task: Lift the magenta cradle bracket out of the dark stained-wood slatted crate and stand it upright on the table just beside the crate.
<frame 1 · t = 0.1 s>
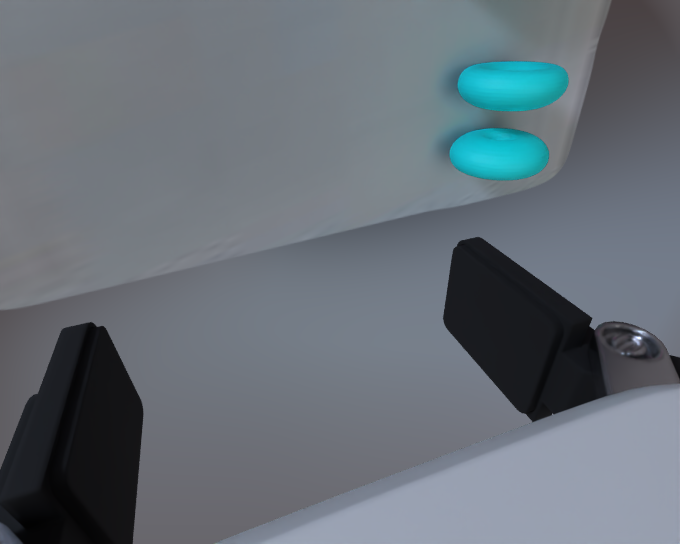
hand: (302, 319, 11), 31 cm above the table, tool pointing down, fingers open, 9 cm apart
donuts: (473, 110, 44), on the table
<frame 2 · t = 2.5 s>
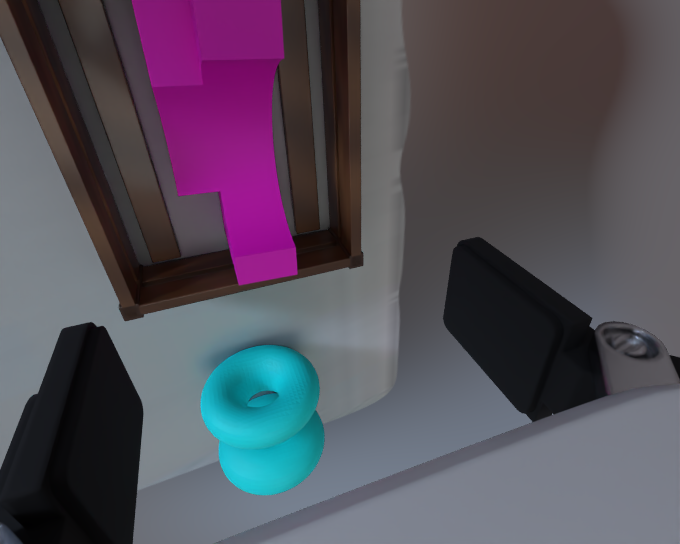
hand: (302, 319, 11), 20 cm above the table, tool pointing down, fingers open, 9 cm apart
crate: (217, 130, 26), on the table
magenta cradle bracket: (217, 130, 26), resting in crate
donuts: (256, 375, 40), on the table
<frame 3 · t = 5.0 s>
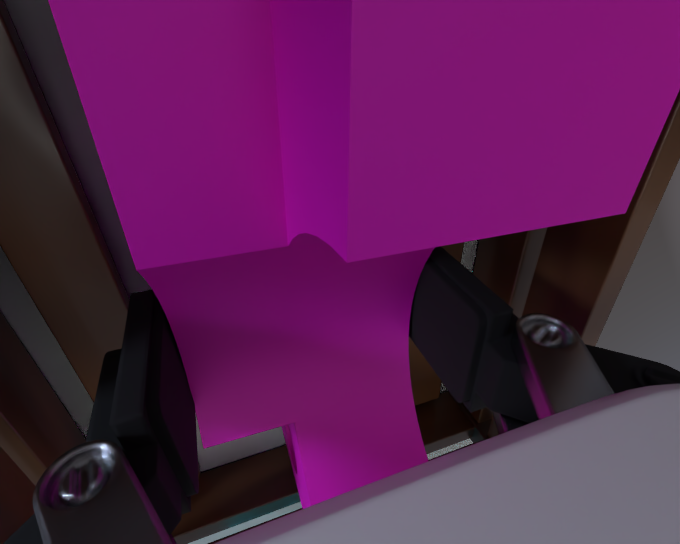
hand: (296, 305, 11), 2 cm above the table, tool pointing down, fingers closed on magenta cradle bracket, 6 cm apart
crate: (282, 271, 13), on the table
magenta cradle bracket: (281, 268, 13), resting in crate, touching gripper
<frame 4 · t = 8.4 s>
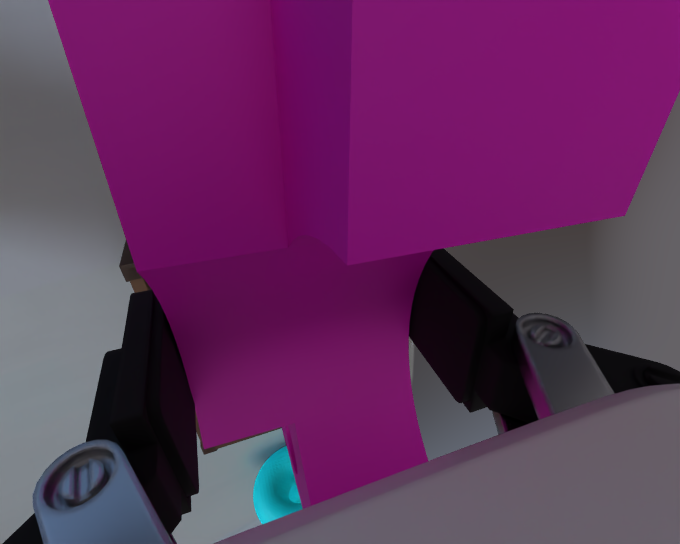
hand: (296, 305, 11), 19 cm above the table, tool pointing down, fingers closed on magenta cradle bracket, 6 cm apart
crate: (270, 310, 35), on the table
magenta cradle bracket: (281, 269, 13), point 17 cm above the table, touching gripper
donuts: (293, 461, 48), on the table
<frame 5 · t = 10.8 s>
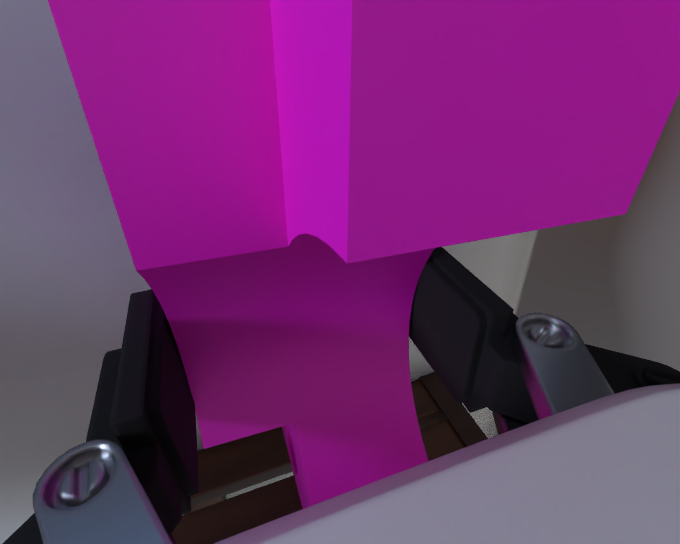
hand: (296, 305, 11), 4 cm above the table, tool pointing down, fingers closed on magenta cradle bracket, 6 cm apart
crate: (309, 511, 26), on the table
magenta cradle bracket: (281, 268, 13), point 2 cm above the table, touching gripper
when the fingers open (2 cm above the table, at t = 12.1 s): magenta cradle bracket stays where it is, on the table.
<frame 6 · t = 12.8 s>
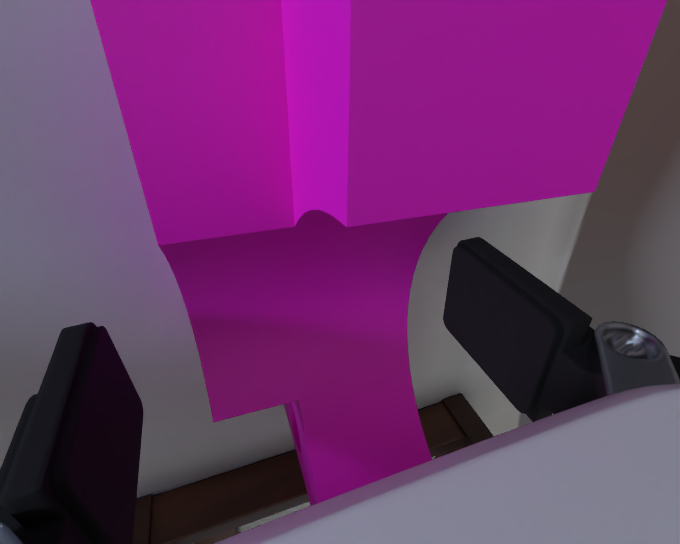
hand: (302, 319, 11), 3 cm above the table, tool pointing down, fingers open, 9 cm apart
crate: (322, 535, 25), on the table
magenta cradle bracket: (286, 256, 13), on the table
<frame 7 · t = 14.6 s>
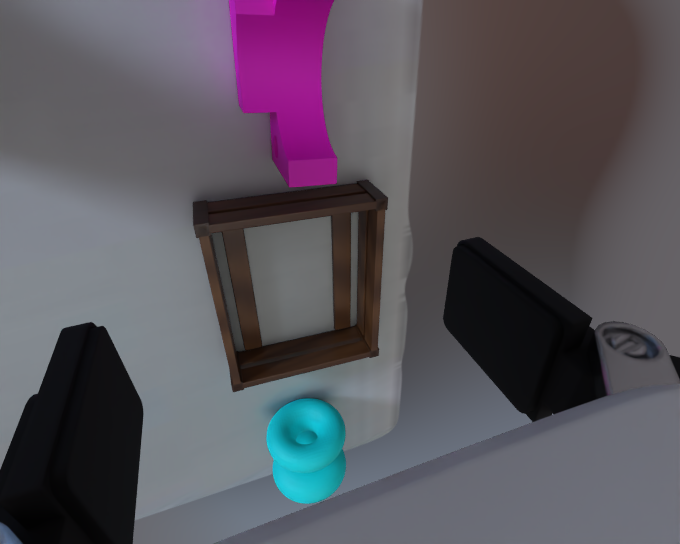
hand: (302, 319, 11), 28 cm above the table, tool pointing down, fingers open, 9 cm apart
crate: (293, 276, 43), on the table
magenta cradle bracket: (274, 66, 32), on the table
donuts: (299, 417, 56), on the table
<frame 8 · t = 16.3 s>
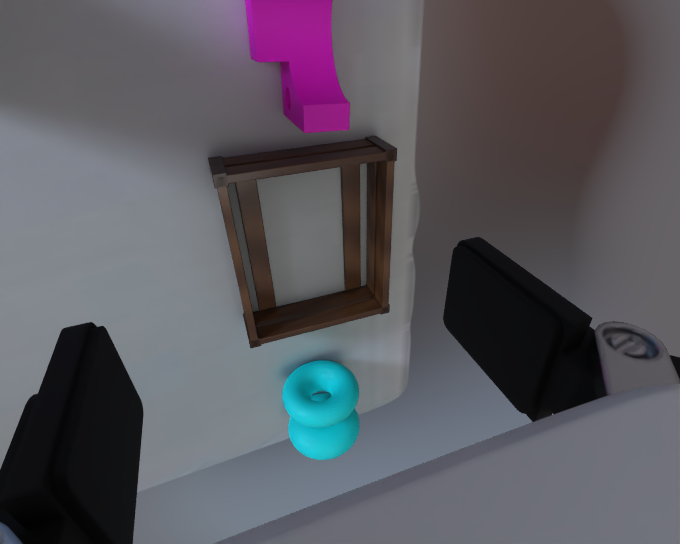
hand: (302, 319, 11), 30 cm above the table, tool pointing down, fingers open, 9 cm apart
crate: (305, 235, 44), on the table
magenta cradle bracket: (284, 19, 33), on the table
donuts: (312, 380, 57), on the table
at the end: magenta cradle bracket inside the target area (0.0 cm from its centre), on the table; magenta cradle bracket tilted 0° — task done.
